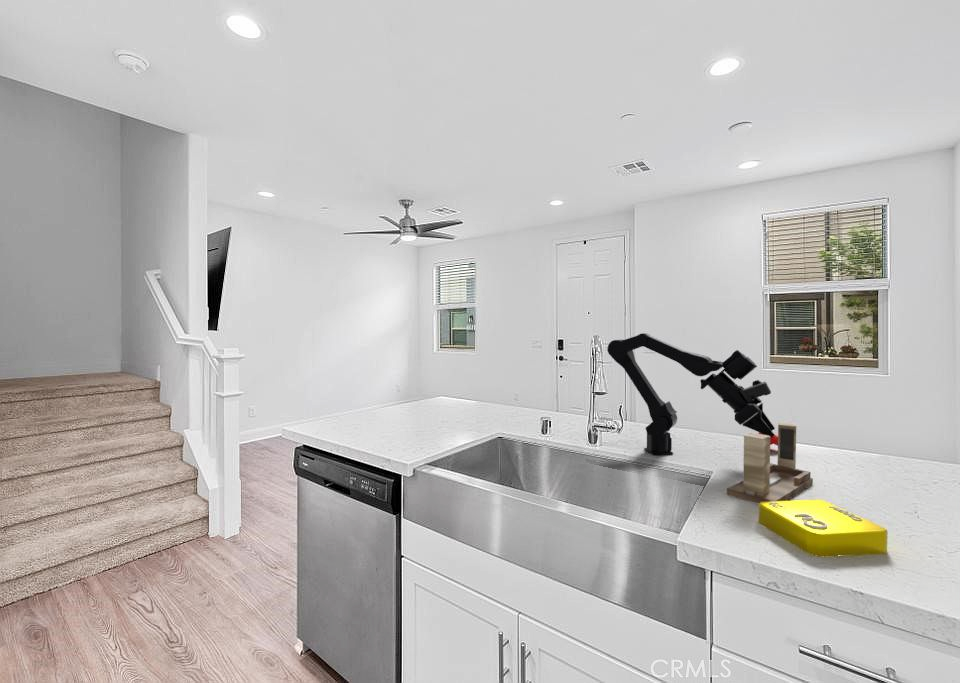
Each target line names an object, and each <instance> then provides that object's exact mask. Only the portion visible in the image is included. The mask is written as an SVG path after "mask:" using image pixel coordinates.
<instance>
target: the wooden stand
mask: <svg viewBox="0 0 960 683" xmlns="http://www.w3.org/2000/svg"><path fill="white" fill-rule="evenodd" d="M742 475H743V480H741V481H739V482H738V483H735V484H733V485H731V486H728V487H726V495H727V496H730V497H734V498H736V499H741V500H744V501H747V502H751V503H755V504H757V505H759V503H760V502H769V501H789V500H790V499H792V498H794V497H795V496H796V495H798V494H799V493H801V492H802V491H805V490H806V489H808V488H809V487H811V486H812V485H814V483H813V482H814V481H813V480H814V479H813V477H811V471H808V470H803V469H799V468H796V467H795V468H790V467H785V466H781V465H778V464H775V463H771V445H770V436H767V435H762V434H758V433H754V432H750V433H747V434H746V433H745V434H744V435H743V474H742Z"/></svg>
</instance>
